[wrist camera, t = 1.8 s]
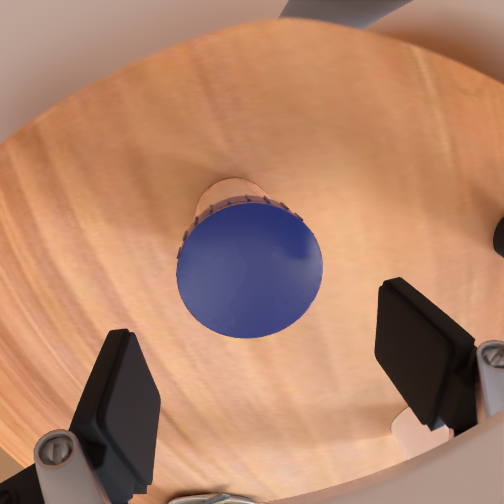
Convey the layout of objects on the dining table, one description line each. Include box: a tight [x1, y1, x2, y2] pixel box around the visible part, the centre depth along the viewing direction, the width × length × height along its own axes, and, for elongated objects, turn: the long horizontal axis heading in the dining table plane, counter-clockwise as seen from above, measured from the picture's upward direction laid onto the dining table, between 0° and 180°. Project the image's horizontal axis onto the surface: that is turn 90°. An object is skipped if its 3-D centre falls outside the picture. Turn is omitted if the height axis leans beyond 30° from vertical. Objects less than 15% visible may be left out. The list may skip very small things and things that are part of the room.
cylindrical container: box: [391, 407, 449, 460], centre depth 26 cm, size 7×7×25 cm
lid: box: [176, 194, 323, 338], centre depth 15 cm, size 7×7×2 cm
